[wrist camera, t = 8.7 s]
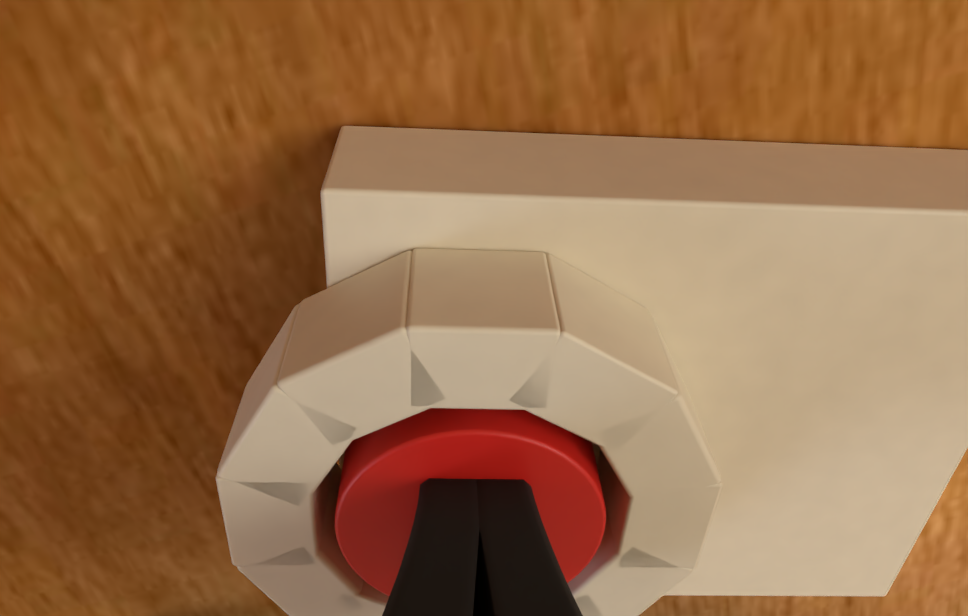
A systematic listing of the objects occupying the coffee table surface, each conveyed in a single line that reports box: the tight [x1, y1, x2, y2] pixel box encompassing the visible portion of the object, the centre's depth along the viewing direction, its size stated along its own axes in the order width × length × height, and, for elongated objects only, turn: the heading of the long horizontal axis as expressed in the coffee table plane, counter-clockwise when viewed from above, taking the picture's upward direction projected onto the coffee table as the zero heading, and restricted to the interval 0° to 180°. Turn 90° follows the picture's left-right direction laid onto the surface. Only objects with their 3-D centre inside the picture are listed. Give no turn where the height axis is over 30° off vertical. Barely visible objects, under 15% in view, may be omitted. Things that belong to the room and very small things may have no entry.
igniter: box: [216, 126, 968, 616], centre depth 12 cm, size 11×8×4 cm
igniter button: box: [335, 408, 606, 596], centre depth 11 cm, size 4×4×2 cm
